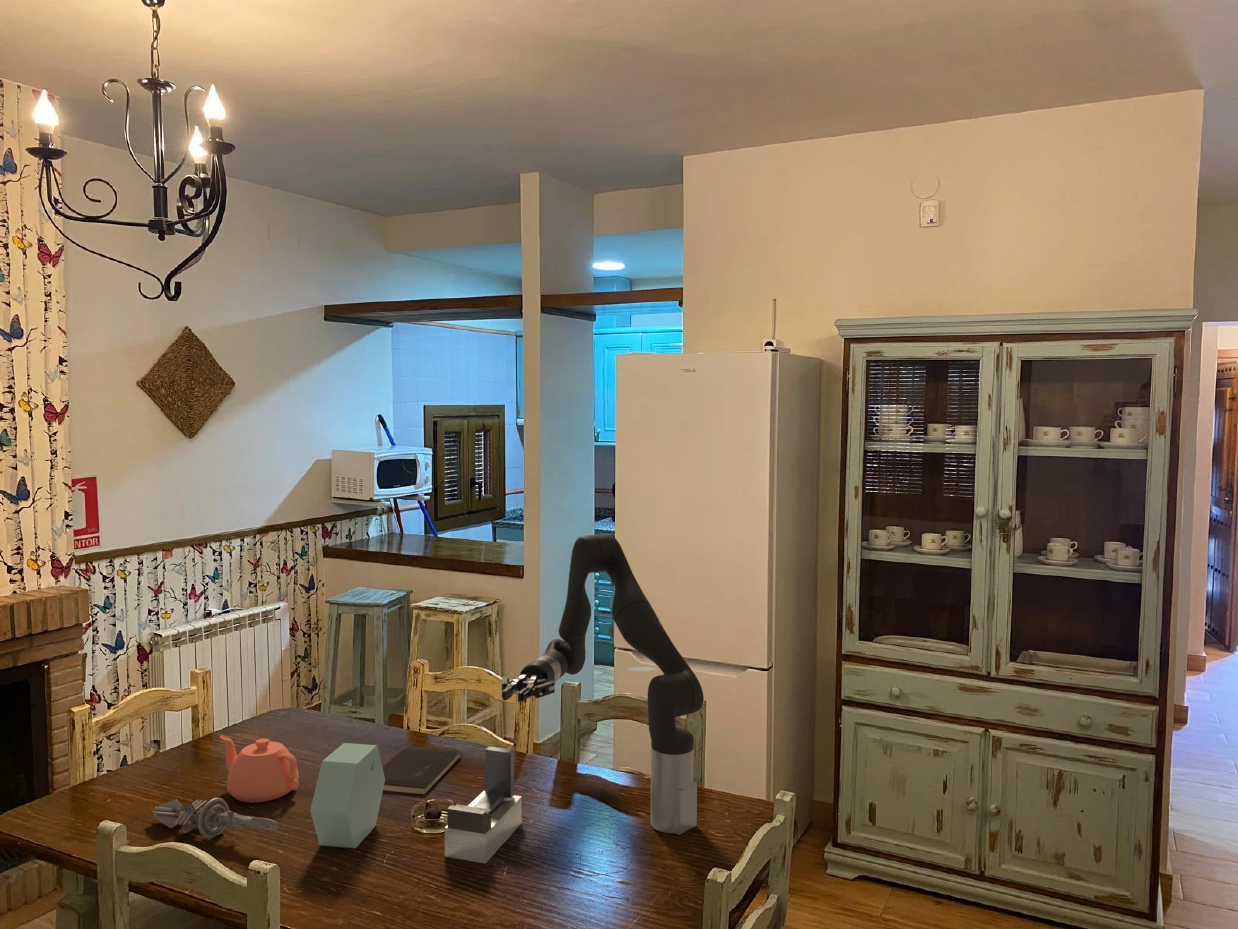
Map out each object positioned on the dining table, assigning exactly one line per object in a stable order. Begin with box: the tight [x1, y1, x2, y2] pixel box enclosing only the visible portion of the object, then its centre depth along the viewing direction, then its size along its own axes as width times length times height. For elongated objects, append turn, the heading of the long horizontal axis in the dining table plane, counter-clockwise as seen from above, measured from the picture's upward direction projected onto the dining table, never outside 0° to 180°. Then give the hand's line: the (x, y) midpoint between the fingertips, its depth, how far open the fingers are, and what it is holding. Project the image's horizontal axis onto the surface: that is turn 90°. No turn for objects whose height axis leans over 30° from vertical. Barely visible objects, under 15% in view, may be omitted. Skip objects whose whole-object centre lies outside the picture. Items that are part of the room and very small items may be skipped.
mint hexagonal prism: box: [309, 742, 385, 849], centre depth 188 cm, size 17×8×21 cm
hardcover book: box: [382, 745, 462, 795], centre depth 221 cm, size 16×23×2 cm
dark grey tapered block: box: [473, 746, 515, 811], centre depth 189 cm, size 11×6×10 cm, turn 163°
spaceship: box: [151, 797, 281, 839], centre depth 187 cm, size 8×35×8 cm
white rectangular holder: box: [444, 790, 523, 864], centre depth 187 cm, size 18×9×10 cm, turn 163°
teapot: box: [219, 734, 300, 804], centre depth 209 cm, size 22×16×12 cm
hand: (512, 697), depth 199 cm, fingers open, 3 cm apart
